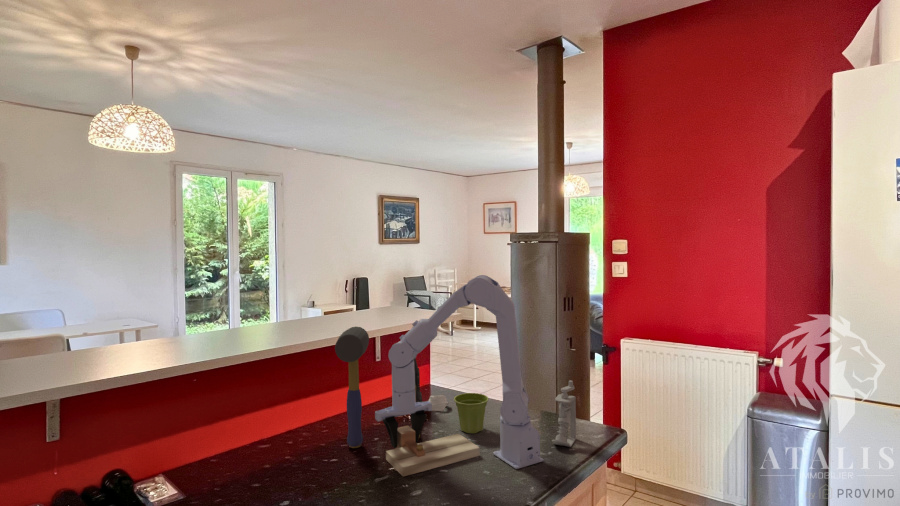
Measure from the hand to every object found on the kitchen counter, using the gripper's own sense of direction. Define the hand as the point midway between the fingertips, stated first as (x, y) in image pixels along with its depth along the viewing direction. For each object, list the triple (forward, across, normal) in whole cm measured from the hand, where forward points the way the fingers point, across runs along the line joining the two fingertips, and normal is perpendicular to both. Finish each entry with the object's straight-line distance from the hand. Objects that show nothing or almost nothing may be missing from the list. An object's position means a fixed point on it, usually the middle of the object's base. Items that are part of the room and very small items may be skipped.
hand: (404, 443), depth 121 cm
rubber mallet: (+2, +10, -8) cm, 13 cm away
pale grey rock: (+2, -21, -23) cm, 31 cm away
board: (+2, -4, +8) cm, 9 cm away
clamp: (+2, -36, +18) cm, 40 cm away
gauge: (+2, 0, +4) cm, 4 cm away
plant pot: (+2, -21, -2) cm, 21 cm away
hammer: (+2, -11, -18) cm, 21 cm away
